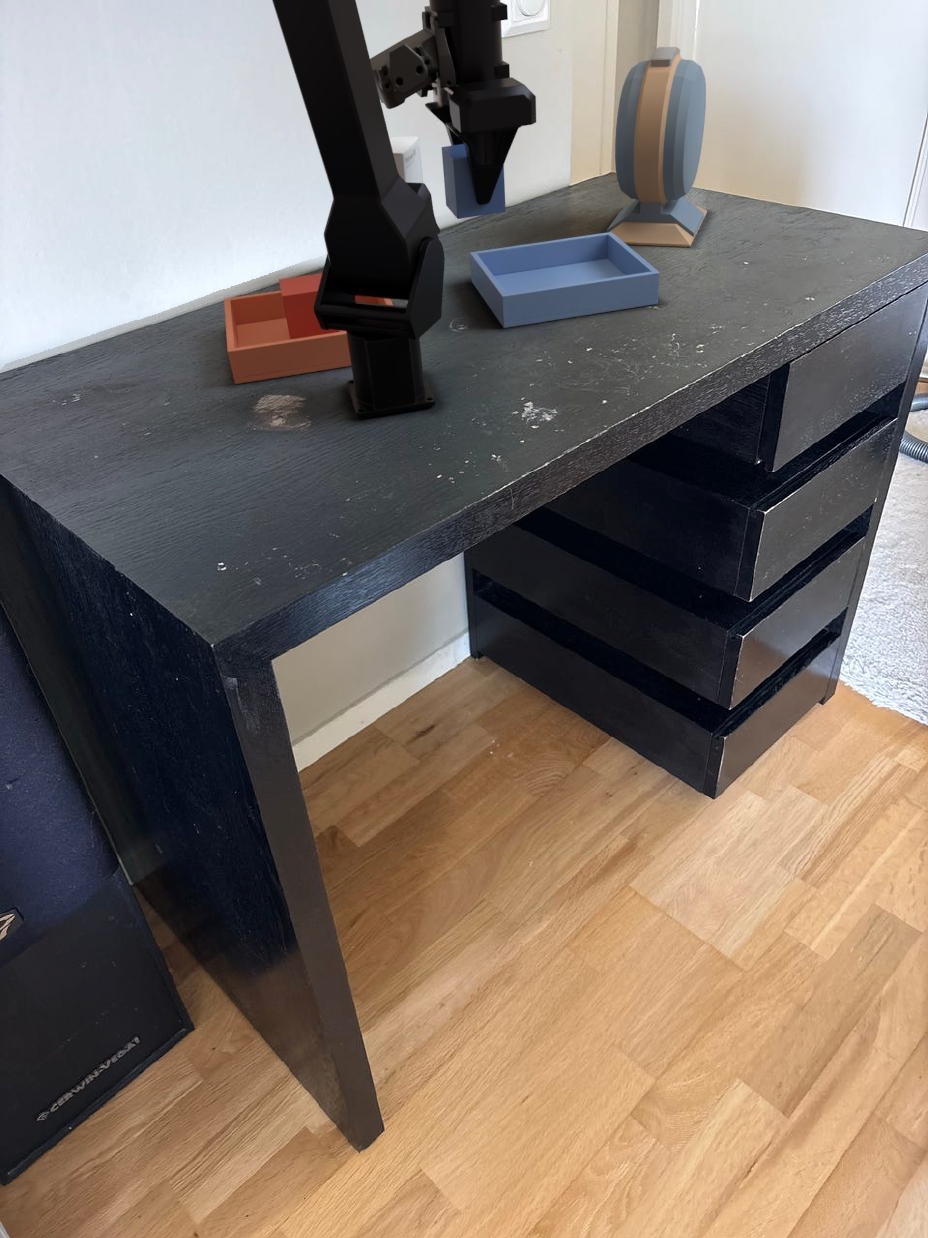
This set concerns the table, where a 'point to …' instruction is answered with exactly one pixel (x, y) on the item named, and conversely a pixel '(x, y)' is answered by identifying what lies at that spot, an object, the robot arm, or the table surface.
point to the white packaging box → (408, 158)
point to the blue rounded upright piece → (660, 150)
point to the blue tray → (563, 279)
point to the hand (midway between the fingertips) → (476, 196)
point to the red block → (301, 305)
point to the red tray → (278, 340)
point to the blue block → (467, 186)
